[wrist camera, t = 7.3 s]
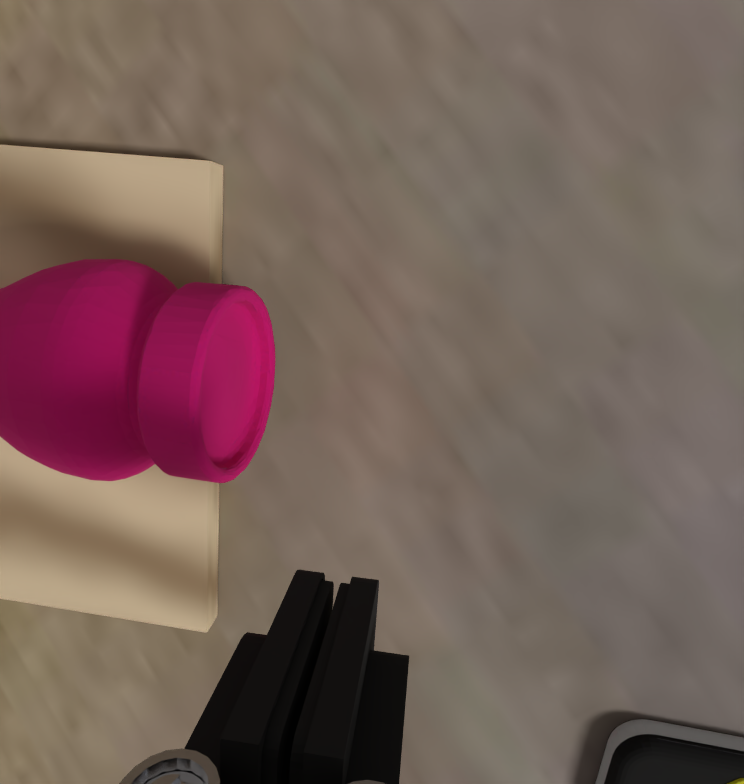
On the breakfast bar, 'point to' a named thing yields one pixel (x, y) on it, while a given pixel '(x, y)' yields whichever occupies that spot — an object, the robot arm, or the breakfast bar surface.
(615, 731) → the remote control
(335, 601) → the robot arm
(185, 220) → the cutting board
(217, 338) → the pepper mill
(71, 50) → the breakfast bar surface
